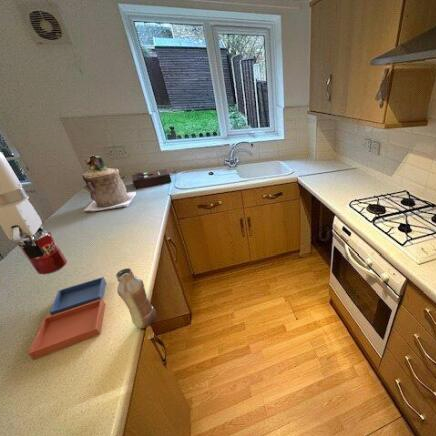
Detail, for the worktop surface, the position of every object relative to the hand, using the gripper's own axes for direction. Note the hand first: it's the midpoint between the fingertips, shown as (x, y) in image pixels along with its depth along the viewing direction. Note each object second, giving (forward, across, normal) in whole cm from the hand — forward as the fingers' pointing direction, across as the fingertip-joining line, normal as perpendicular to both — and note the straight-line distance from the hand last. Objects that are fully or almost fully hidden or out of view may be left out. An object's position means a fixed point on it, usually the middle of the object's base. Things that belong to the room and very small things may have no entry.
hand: (41, 249), depth 73 cm
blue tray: (+22, +1, +2) cm, 22 cm away
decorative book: (+22, -122, +32) cm, 128 cm away
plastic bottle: (+22, +24, +22) cm, 39 cm away
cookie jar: (+22, -93, +6) cm, 96 cm away
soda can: (+7, 0, 0) cm, 7 cm away
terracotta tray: (+22, +15, +2) cm, 26 cm away
